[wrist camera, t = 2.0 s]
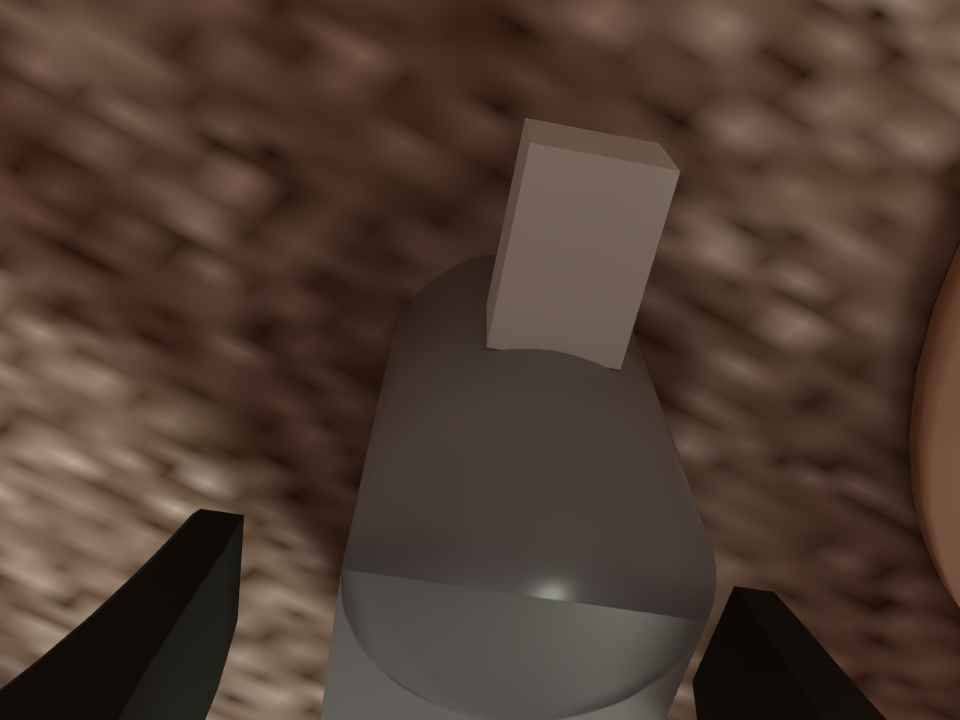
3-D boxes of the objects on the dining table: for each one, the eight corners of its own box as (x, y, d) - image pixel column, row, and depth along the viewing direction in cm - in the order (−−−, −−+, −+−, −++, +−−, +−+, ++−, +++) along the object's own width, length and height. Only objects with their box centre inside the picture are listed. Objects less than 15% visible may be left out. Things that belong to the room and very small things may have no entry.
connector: (541, 685, 17) (560, 961, 12) (342, 659, 16) (290, 933, 12) (717, 126, 11) (863, 256, 7) (431, 71, 11) (396, 172, 7)
